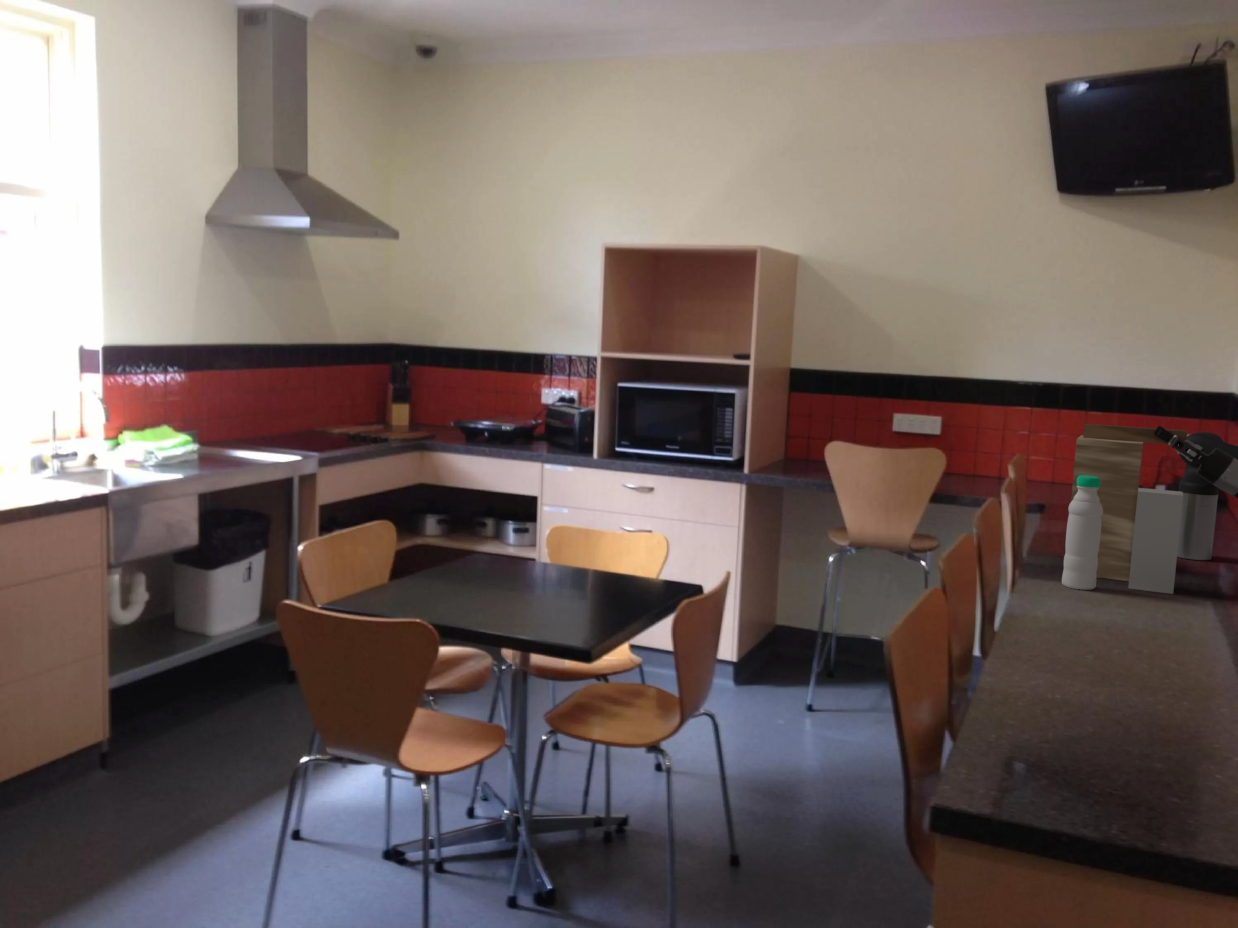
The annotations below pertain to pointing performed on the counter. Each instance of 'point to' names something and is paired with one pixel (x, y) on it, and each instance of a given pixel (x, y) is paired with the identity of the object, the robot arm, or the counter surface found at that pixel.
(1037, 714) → the counter surface
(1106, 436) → the batten
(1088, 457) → the wooden open box
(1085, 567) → the white bottle
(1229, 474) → the robot arm
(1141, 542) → the riser block
